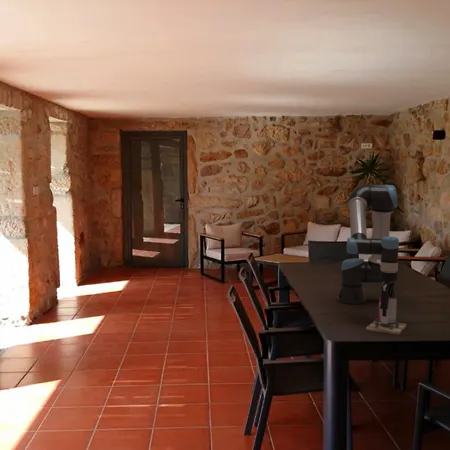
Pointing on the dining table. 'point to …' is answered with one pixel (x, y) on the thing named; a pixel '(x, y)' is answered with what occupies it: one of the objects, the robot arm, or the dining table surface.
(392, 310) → the supplement box
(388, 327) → the plate
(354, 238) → the robot arm
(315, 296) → the dining table surface
